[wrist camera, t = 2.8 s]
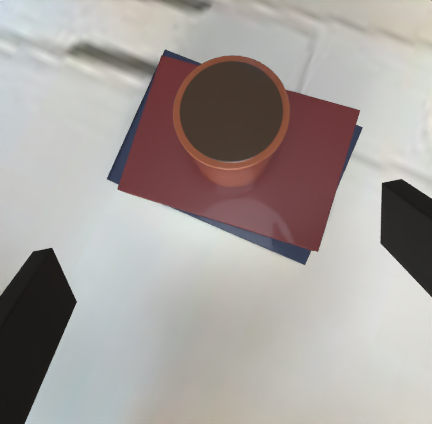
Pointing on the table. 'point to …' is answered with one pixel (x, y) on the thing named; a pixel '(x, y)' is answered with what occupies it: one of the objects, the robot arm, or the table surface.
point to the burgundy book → (257, 190)
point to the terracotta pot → (231, 118)
